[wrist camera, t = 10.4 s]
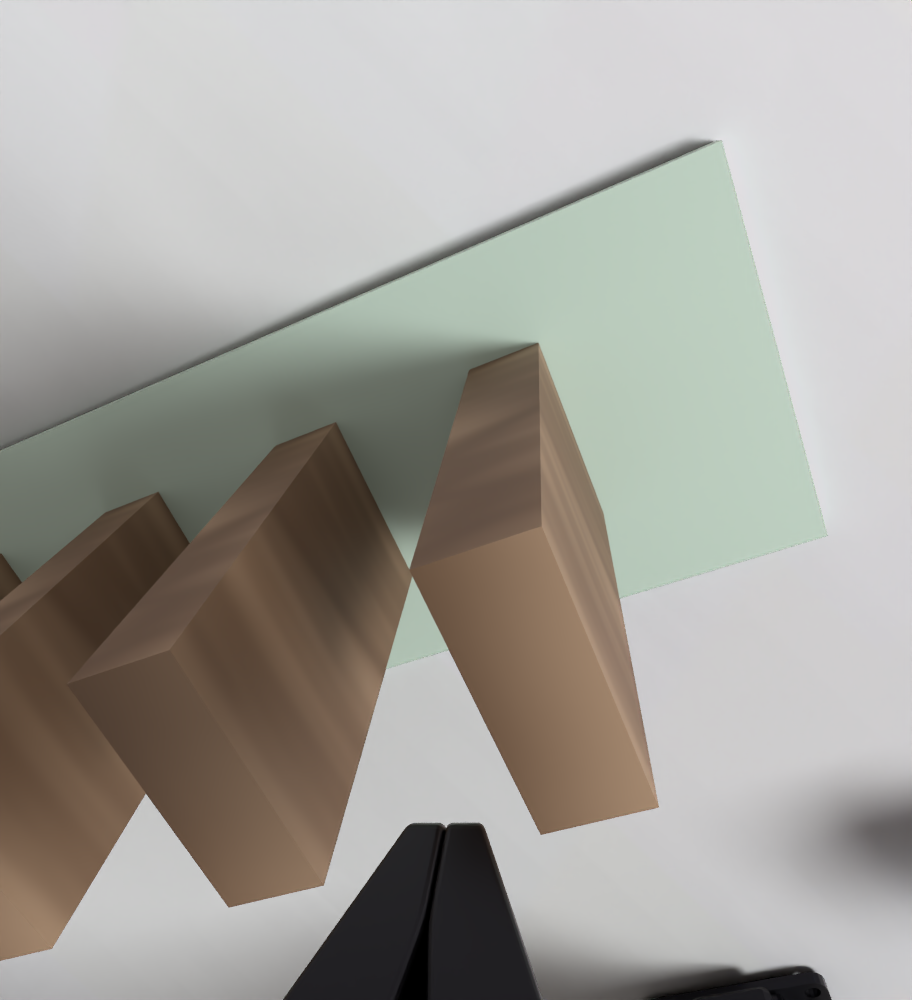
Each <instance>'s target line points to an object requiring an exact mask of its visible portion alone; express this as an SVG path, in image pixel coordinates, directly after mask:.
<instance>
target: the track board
mask: <svg viewBox="0 0 912 1000" xmlns="http://www.w3.org/2000/svg"><path fill="white" fill-rule="evenodd" d="M536 343H539V345H540V348H541V351H542V353H543V356H544V358H545V361H546V364H547V366H548V369H549V371H550V374H551V377H552V379H553V382H554V385H555V387H556V390H557V392H558V395H559V398H560V400H561V403H562V406H563V408H564V411H565V413H566V416H567V419H568V421H569V424H570V427H571V429H572V432H573V434H574V437H575V440H576V442H577V445H578V448H579V450H580V453H581V455H582V458H583V461H584V463H585V466H586V468H587V471H588V474H589V476H590V479H591V482H592V484H593V487H594V489H595V492H596V495H597V497H598V500H599V503H600V505H601V508H602V510H603V513H604V518H605V524H606V529H607V534H608V540H609V545H610V550H611V556H612V561H613V566H614V572H615V577H616V582H617V588H618V593H619V598H623V597H627V596H630V595H633V594H637V593H640V592H643V591H647V590H650V589H653V588H657V587H660V586H663V585H666V584H670V583H673V582H676V581H680V580H683V579H686V578H690V577H693V576H696V575H700V574H703V573H706V572H710V571H713V570H716V569H720V568H723V567H726V566H729V565H733V564H736V563H739V562H743V561H746V560H749V559H753V558H756V557H759V556H763V555H766V554H769V553H773V552H776V551H779V550H783V549H786V548H789V547H793V546H796V545H799V544H802V543H806V542H809V541H812V540H816V539H819V538H822V537H826V536H828V535H827V531H826V528H825V524H824V520H823V516H822V513H821V509H820V505H819V501H818V498H817V494H816V490H815V487H814V483H813V479H812V475H811V472H810V468H809V464H808V460H807V457H806V453H805V449H804V445H803V442H802V438H801V434H800V431H799V427H798V423H797V419H796V416H795V412H794V408H793V404H792V401H791V397H790V393H789V390H788V386H787V382H786V378H785V375H784V371H783V367H782V363H781V360H780V356H779V352H778V348H777V345H776V341H775V337H774V334H773V330H772V326H771V322H770V319H769V315H768V311H767V307H766V304H765V300H764V296H763V292H762V289H761V285H760V281H759V278H758V274H757V270H756V266H755V263H754V259H753V255H752V251H751V248H750V244H749V240H748V236H747V233H746V229H745V225H744V222H743V218H742V214H741V210H740V207H739V203H738V199H737V195H736V192H735V188H734V184H733V180H732V177H731V173H730V169H729V166H728V162H727V158H726V154H725V151H724V147H723V143H722V140H720V141H714V142H712V143H709V144H707V145H705V146H702V147H700V148H698V149H696V150H693V151H691V152H689V153H686V154H684V155H682V156H679V157H677V158H675V159H672V160H670V161H668V162H665V163H663V164H661V165H659V166H656V167H654V168H652V169H649V170H647V171H645V172H642V173H640V174H638V175H635V176H633V177H631V178H628V179H626V180H624V181H622V182H619V183H617V184H615V185H612V186H610V187H608V188H605V189H603V190H601V191H598V192H596V193H594V194H591V195H589V196H587V197H585V198H582V199H580V200H578V201H575V202H573V203H571V204H568V205H566V206H564V207H561V208H559V209H557V210H555V211H552V212H550V213H548V214H545V215H543V216H541V217H538V218H536V219H534V220H531V221H529V222H527V223H524V224H522V225H520V226H518V227H515V228H513V229H511V230H508V231H506V232H504V233H501V234H499V235H497V236H494V237H492V238H490V239H487V240H485V241H483V242H481V243H478V244H476V245H474V246H471V247H469V248H467V249H464V250H462V251H460V252H457V253H455V254H453V255H451V256H448V257H446V258H444V259H441V260H439V261H437V262H434V263H432V264H430V265H427V266H425V267H423V268H420V269H418V270H416V271H414V272H411V273H409V274H407V275H404V276H402V277H400V278H397V279H395V280H393V281H390V282H388V283H386V284H383V285H381V286H379V287H377V288H374V289H372V290H370V291H367V292H365V293H363V294H360V295H358V296H356V297H353V298H351V299H349V300H346V301H344V302H342V303H340V304H337V305H335V306H333V307H330V308H328V309H326V310H323V311H321V312H319V313H316V314H314V315H312V316H310V317H307V318H305V319H303V320H300V321H298V322H296V323H293V324H291V325H289V326H286V327H284V328H282V329H279V330H277V331H275V332H273V333H270V334H268V335H266V336H263V337H261V338H259V339H256V340H254V341H252V342H249V343H247V344H245V345H242V346H240V347H238V348H236V349H233V350H231V351H229V352H226V353H224V354H222V355H219V356H217V357H215V358H212V359H210V360H208V361H205V362H203V363H201V364H199V365H196V366H194V367H192V368H189V369H187V370H185V371H182V372H180V373H178V374H175V375H173V376H171V377H169V378H166V379H164V380H162V381H159V382H157V383H155V384H152V385H150V386H148V387H145V388H143V389H141V390H138V391H136V392H134V393H132V394H129V395H127V396H125V397H122V398H120V399H118V400H115V401H113V402H111V403H108V404H106V405H104V406H101V407H99V408H97V409H95V410H92V411H90V412H88V413H85V414H83V415H81V416H78V417H76V418H74V419H71V420H69V421H67V422H65V423H62V424H60V425H58V426H55V427H53V428H51V429H48V430H46V431H44V432H41V433H39V434H37V435H34V436H32V437H30V438H28V439H25V440H23V441H21V442H18V443H16V444H14V445H11V446H9V447H7V448H4V449H2V450H0V554H2V555H3V556H4V558H5V559H6V561H7V562H8V563H9V565H10V566H11V568H12V569H13V570H14V572H15V573H16V575H17V576H18V577H19V579H20V580H21V582H23V581H25V580H26V579H27V578H28V577H29V576H30V575H32V574H33V573H34V572H35V571H36V570H38V569H39V568H40V567H41V566H42V565H43V564H45V563H46V562H47V561H48V560H49V559H51V558H52V557H53V556H54V555H55V554H56V553H58V552H59V551H60V550H61V549H62V548H64V547H65V546H66V545H67V544H68V543H70V542H71V541H72V540H73V539H74V538H75V537H77V536H78V535H79V534H80V533H81V532H83V531H84V530H85V529H86V528H87V527H88V526H90V525H91V524H92V523H93V522H94V521H96V520H97V519H98V518H99V517H100V516H101V515H103V514H104V513H105V512H108V511H110V510H113V509H115V508H118V507H120V506H123V505H126V504H128V503H131V502H133V501H136V500H138V499H141V498H143V497H146V496H149V495H151V494H154V493H156V492H159V494H160V495H161V497H162V498H163V500H164V502H165V503H166V505H167V507H168V508H169V510H170V512H171V513H172V515H173V517H174V518H175V520H176V522H177V523H178V525H179V527H180V528H181V530H182V531H183V533H184V535H185V536H186V538H187V540H188V541H189V543H191V541H192V540H193V539H194V538H195V537H196V536H197V535H198V533H199V532H200V531H201V530H202V529H203V528H204V527H205V526H206V524H207V523H208V522H209V521H210V520H211V519H212V518H213V516H214V515H215V514H216V513H217V512H218V511H219V510H220V508H221V507H222V506H223V505H224V504H225V503H226V502H227V500H228V499H229V498H230V497H231V496H232V495H233V494H234V492H235V491H236V490H237V489H238V488H239V487H240V486H241V484H242V483H243V482H244V481H245V480H246V479H247V478H248V476H249V475H250V474H251V473H252V472H253V471H254V470H255V468H256V467H257V466H258V465H259V464H260V463H261V462H262V460H263V459H264V458H265V457H266V456H267V455H268V454H269V452H270V451H271V450H272V449H273V448H274V447H275V446H276V445H279V444H281V443H284V442H286V441H289V440H291V439H294V438H296V437H299V436H302V435H304V434H307V433H309V432H312V431H314V430H317V429H319V428H322V427H324V426H327V425H330V424H332V423H335V422H336V423H337V425H338V427H339V429H340V431H341V433H342V435H343V437H344V439H345V441H346V443H347V445H348V447H349V449H350V451H351V453H352V455H353V457H354V459H355V461H356V463H357V465H358V467H359V469H360V471H361V473H362V475H363V477H364V479H365V481H366V483H367V485H368V487H369V489H370V491H371V493H372V495H373V497H374V499H375V501H376V504H377V506H378V508H379V510H380V512H381V514H382V516H383V518H384V520H385V522H386V524H387V526H388V528H389V530H390V532H391V534H392V536H393V538H394V540H395V542H396V544H397V546H398V548H399V550H400V552H401V554H402V556H403V558H404V560H405V562H406V564H407V566H408V568H409V569H410V566H411V562H412V559H413V556H414V552H415V549H416V546H417V542H418V539H419V536H420V532H421V529H422V526H423V522H424V519H425V516H426V512H427V509H428V506H429V502H430V499H431V496H432V492H433V489H434V486H435V482H436V479H437V476H438V472H439V469H440V466H441V462H442V459H443V455H444V452H445V449H446V445H447V442H448V439H449V435H450V432H451V429H452V425H453V422H454V419H455V415H456V412H457V409H458V405H459V402H460V399H461V395H462V392H463V389H464V385H465V382H466V379H467V375H468V372H469V370H470V369H472V368H475V367H477V366H480V365H483V364H485V363H488V362H490V361H493V360H495V359H498V358H500V357H503V356H505V355H508V354H511V353H513V352H516V351H518V350H521V349H523V348H526V347H528V346H531V345H534V344H536ZM448 650H449V649H448V647H447V645H446V643H445V641H444V639H443V637H442V635H441V633H440V631H439V629H438V627H437V625H436V623H435V621H434V619H433V617H432V615H431V613H430V611H429V609H428V607H427V605H426V603H425V601H424V599H423V597H422V595H421V593H420V591H419V589H418V587H417V585H416V583H415V581H414V579H413V577H412V580H411V583H410V587H409V590H408V594H407V597H406V601H405V604H404V608H403V611H402V614H401V618H400V621H399V625H398V628H397V632H396V635H395V639H394V642H393V646H392V649H391V653H390V656H389V660H388V663H387V667H386V669H388V668H391V667H395V666H398V665H401V664H404V663H408V662H411V661H414V660H418V659H421V658H424V657H428V656H431V655H434V654H438V653H441V652H444V651H448Z"/></svg>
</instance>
